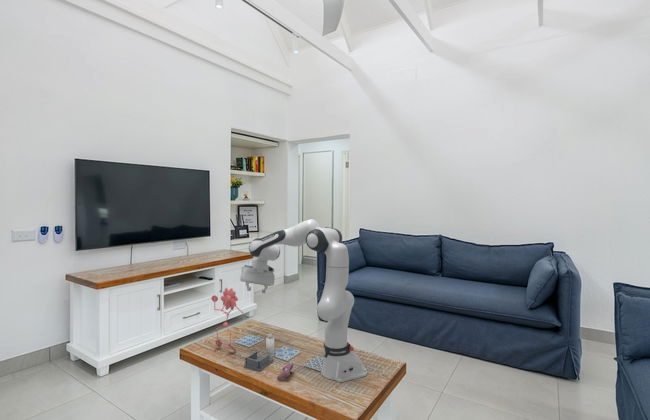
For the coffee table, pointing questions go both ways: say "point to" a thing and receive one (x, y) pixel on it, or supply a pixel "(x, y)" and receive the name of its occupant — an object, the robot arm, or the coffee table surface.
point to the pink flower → (228, 302)
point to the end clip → (257, 362)
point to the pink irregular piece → (285, 371)
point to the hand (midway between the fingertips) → (256, 291)
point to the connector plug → (270, 345)
